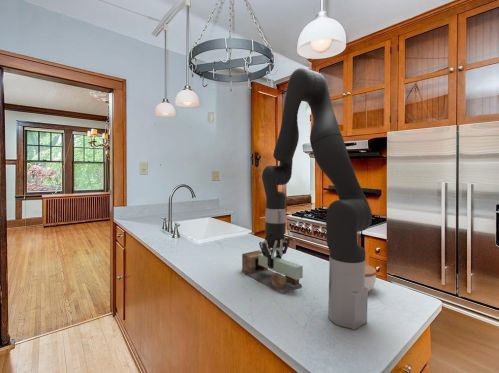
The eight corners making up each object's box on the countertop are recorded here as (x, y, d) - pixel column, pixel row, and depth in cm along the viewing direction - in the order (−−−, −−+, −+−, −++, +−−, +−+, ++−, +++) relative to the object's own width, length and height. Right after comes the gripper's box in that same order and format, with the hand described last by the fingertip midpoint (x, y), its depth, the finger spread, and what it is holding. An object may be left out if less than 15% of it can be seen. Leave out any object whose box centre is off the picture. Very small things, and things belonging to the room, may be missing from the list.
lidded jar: (351, 280, 99) (352, 256, 99) (381, 290, 91) (382, 263, 90) (336, 289, 92) (336, 262, 92) (366, 300, 84) (367, 271, 84)
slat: (302, 277, 89) (302, 265, 89) (296, 279, 87) (296, 267, 87) (264, 263, 105) (264, 253, 105) (258, 264, 103) (258, 254, 103)
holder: (301, 287, 93) (302, 266, 93) (283, 294, 88) (283, 272, 87) (259, 267, 112) (259, 250, 112) (241, 272, 107) (241, 254, 107)
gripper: (267, 224, 89) (266, 274, 90) (296, 220, 98) (295, 265, 99) (254, 220, 95) (253, 267, 96) (282, 217, 104) (281, 260, 105)
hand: (274, 266), depth 98 cm, fingers closed on slat, 3 cm apart
